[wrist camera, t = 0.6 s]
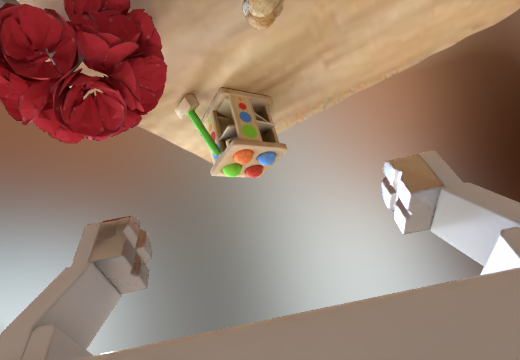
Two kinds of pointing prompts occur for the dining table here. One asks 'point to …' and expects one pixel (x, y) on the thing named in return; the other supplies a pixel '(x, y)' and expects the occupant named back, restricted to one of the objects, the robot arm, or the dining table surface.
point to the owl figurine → (262, 12)
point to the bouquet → (70, 57)
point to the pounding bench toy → (236, 132)
